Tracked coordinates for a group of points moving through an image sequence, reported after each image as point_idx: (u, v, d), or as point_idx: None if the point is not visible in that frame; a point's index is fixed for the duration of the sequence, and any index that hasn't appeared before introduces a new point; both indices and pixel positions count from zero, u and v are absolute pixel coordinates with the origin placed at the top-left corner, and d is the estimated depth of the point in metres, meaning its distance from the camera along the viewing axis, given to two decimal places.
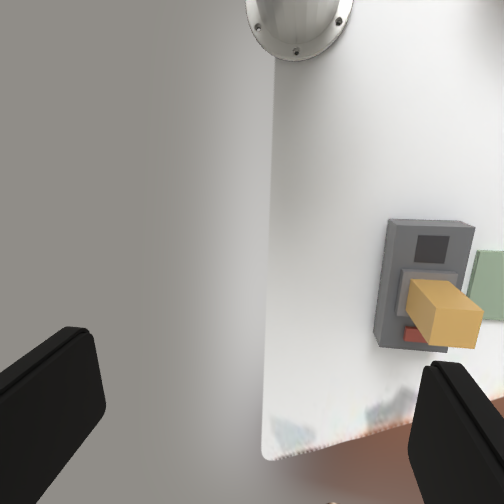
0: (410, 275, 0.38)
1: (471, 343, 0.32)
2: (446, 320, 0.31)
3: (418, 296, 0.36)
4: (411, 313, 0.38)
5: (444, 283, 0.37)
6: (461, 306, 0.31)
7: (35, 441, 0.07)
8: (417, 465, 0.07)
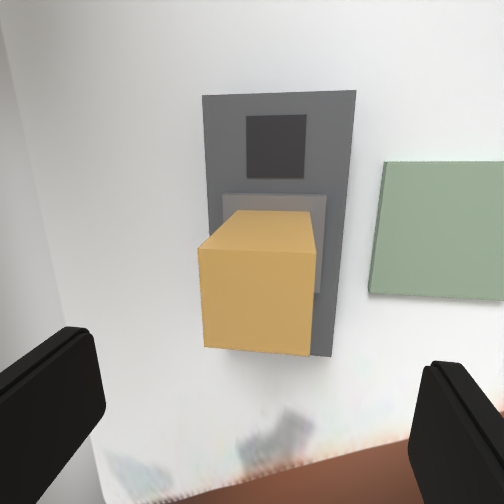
0: (236, 202, 0.19)
1: (300, 343, 0.12)
2: (228, 282, 0.12)
3: None
4: None
5: (294, 214, 0.17)
6: (267, 246, 0.12)
7: (35, 441, 0.07)
8: (417, 465, 0.07)
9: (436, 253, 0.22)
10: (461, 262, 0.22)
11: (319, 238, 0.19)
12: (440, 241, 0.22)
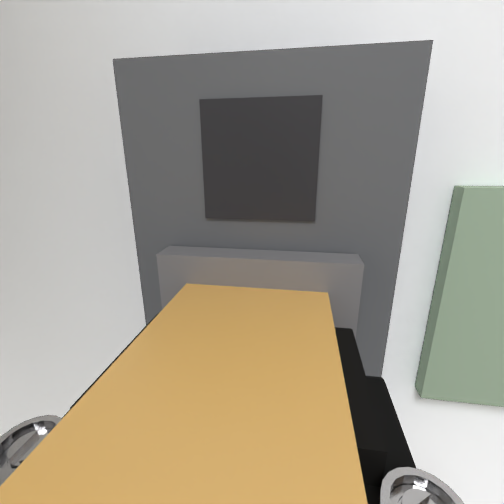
0: (183, 270, 0.10)
1: None
2: None
3: None
4: None
5: (298, 305, 0.08)
6: None
7: None
8: None
9: None
10: None
11: None
12: None
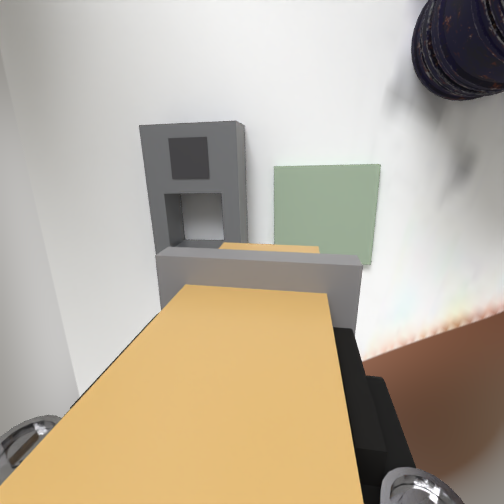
0: (181, 271, 0.10)
1: None
2: None
3: None
4: None
5: (296, 306, 0.08)
6: None
7: None
8: None
9: (316, 231, 0.31)
10: (334, 237, 0.31)
11: None
12: (317, 222, 0.31)
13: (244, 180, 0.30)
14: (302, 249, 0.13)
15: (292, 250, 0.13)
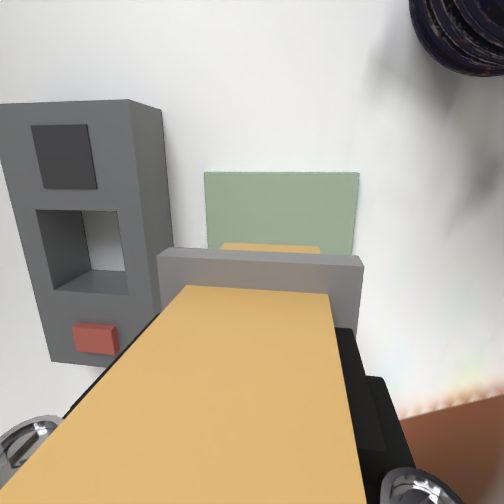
0: (182, 271, 0.10)
1: None
2: None
3: None
4: None
5: (298, 307, 0.08)
6: None
7: None
8: None
9: None
10: None
11: None
12: None
13: (162, 191, 0.21)
14: (303, 250, 0.13)
15: (293, 250, 0.13)
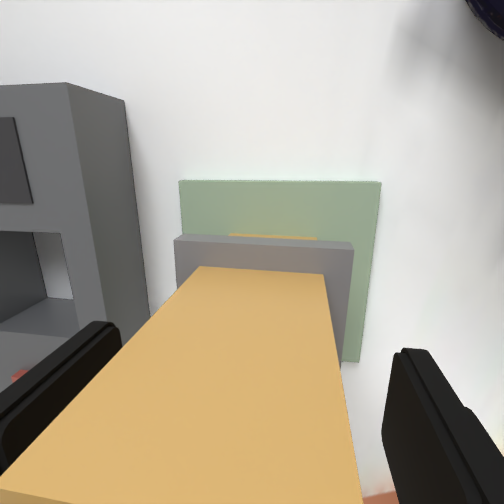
0: (196, 254, 0.11)
1: None
2: None
3: None
4: None
5: (297, 283, 0.10)
6: (212, 472, 0.04)
7: None
8: (388, 446, 0.08)
9: None
10: None
11: (339, 318, 0.11)
12: None
13: (127, 204, 0.16)
14: (302, 240, 0.15)
15: None
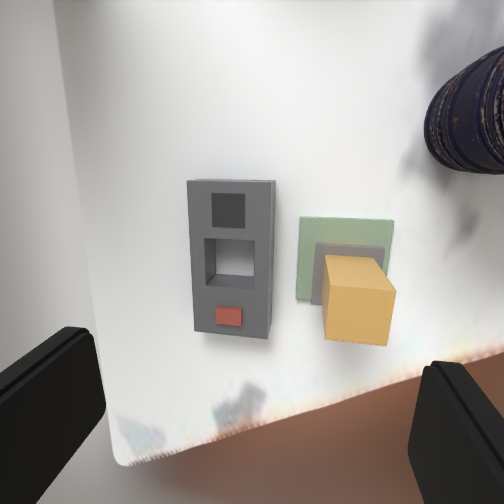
0: (324, 250, 0.29)
1: (382, 339, 0.22)
2: (345, 303, 0.22)
3: (325, 275, 0.26)
4: (322, 299, 0.28)
5: (365, 260, 0.28)
6: (366, 285, 0.22)
7: (35, 441, 0.07)
8: (417, 465, 0.07)
9: None
10: None
11: None
12: None
13: (273, 227, 0.35)
14: None
15: None
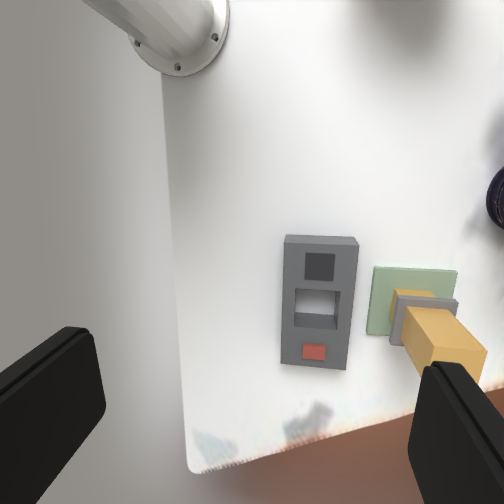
0: (406, 302, 0.35)
1: None
2: (445, 359, 0.28)
3: (414, 328, 0.33)
4: (407, 344, 0.34)
5: (443, 312, 0.34)
6: (461, 345, 0.28)
7: (35, 441, 0.07)
8: (417, 465, 0.07)
9: None
10: None
11: None
12: None
13: None
14: (426, 292, 0.39)
15: (423, 293, 0.39)
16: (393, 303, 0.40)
